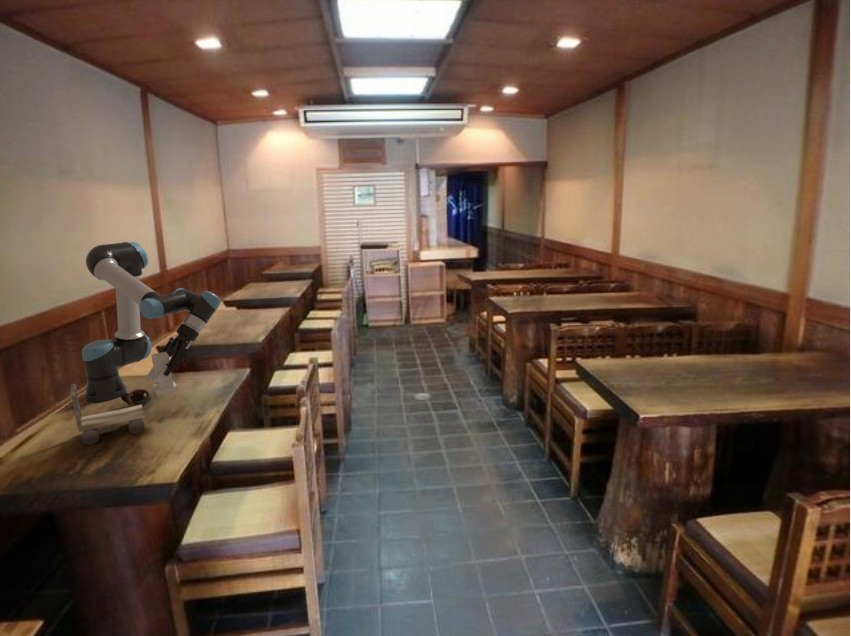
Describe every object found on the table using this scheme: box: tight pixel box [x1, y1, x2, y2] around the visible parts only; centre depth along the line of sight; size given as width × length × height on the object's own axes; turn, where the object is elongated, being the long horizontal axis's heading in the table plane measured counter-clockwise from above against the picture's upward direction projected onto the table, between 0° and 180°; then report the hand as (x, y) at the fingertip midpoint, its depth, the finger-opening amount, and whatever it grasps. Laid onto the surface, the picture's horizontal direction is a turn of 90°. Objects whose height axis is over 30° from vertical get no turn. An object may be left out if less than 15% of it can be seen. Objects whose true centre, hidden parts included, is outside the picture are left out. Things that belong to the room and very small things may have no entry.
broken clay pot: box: [120, 388, 152, 407], centre depth 210 cm, size 12×10×8 cm
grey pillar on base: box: [150, 352, 179, 396], centre depth 193 cm, size 7×7×14 cm
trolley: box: [69, 383, 146, 446], centre depth 186 cm, size 13×20×19 cm, turn 123°
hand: (153, 380), depth 191 cm, fingers closed on grey pillar on base, 7 cm apart
